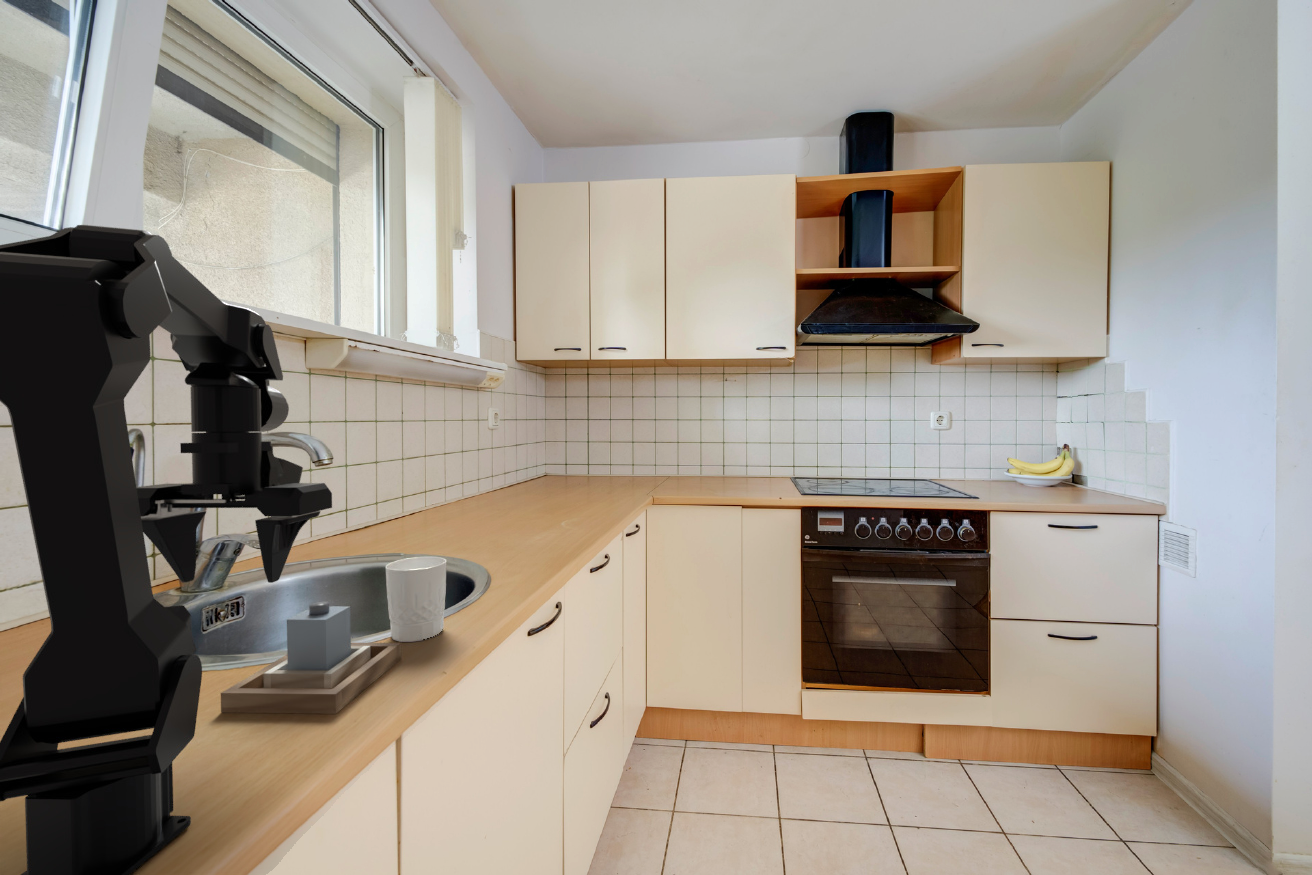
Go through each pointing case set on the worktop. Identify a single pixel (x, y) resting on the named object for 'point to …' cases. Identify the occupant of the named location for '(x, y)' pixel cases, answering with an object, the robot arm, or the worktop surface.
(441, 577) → the white cup
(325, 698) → the walnut box
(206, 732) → the worktop surface
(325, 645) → the block
